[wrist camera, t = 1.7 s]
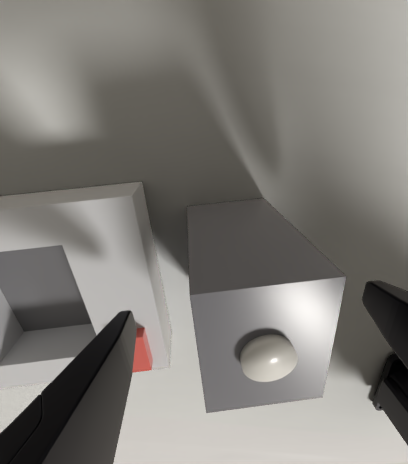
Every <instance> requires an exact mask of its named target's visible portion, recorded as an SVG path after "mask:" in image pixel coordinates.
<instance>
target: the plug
mask: <svg viewBox="0 0 408 464" xmlns="http://www.w3.org/2000/svg"><path fill="white" fill-rule="evenodd" d="M187 224H188V256H189V287H190V301H191V308H192V315H193V322H194V329H195V336H196V343H197V350H198V357H199V364H200V371H201V378H202V385H203V392H204V399H205V407H206V413H210V412H218V411H225V410H233V409H240V408H247V407H255V406H262V405H270V404H277V403H284V402H292V401H299V400H307V399H314V398H321V397H323V393H324V388H325V383H326V378H327V373H328V368H329V363H330V358H331V353H332V348H333V342H334V337H335V332H336V327H337V322H338V317H339V312H340V307H341V302H342V297H343V292H344V287H345V281H346V276H345V275H344V274H343V273H342V272H341V271H340V270H339V269H338V268H337V267H336V266H335V265H334V264H333V263H332V262H331V261H330V260H329V259H327V258H326V257H325V256H324V255H323V254H322V253H321V252H320V251H319V250H318V249H317V248H316V247H315V246H314V245H313V244H312V243H311V242H310V241H309V240H307V239H306V238H305V237H304V236H303V235H302V234H301V233H300V232H299V231H298V230H297V229H296V228H295V227H294V226H293V225H292V224H291V223H290V222H288V221H287V220H286V219H285V218H284V217H283V216H282V215H281V214H280V213H279V212H278V211H277V210H276V209H275V208H274V207H273V206H272V205H271V204H270V203H268V202H267V201H266V200H265V199H264V198H259V199H250V200H241V201H231V202H222V203H213V204H203V205H194V206H187Z"/></svg>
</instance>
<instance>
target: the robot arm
mask: <svg viewBox="0 0 408 464" xmlns="http://www.w3.org/2000/svg"><path fill="white" fill-rule="evenodd" d="M362 301H363V304H364V306H365V307H366V309H367V311H368V312H369V314H370V315H371V317H372V319H373V320H374V322H375V323H376V325H377V327H378V328H379V330H380V331H381V333H382V335H383V336H384V338H385V339H386V341H387V342H388V343H389V345H390V346H391V348H392V349H393V350H394V351H395V353H396V354H393V355H391V356H390V357H389V358H388V359H387V362H386V365H385V368H384V371H383V374H382V377H381V380H380V383H379V386H378V388H377V391H376V394H375V397H374V400H373V405H374V407H375V408H376V410H384V412H385V413H386V415H387V416H388V417H389V419H390V420H391V422H392V423H393V425H394V426H395V428H396V429H397V430H398V432H399V433H400V435H401V436H402V438H403V439H404V441H405V442H406V443H407V445H408V291H406V290H403V289H400V288H398V287H395V286H393V285H390V284H387V283H385V282H382V281H379V280H376V281H369V282H367V283H366V285H365V289H364V293H363V297H362ZM136 333H137V328H136V324H135V320H134V316H133V313H132V311H131V310H126V311H120V312H119V313H118V314H117V315H116V316H115V317H114V318H113V319H112V320H111V321H110V322H109V323H108V324H107V325H106V326H105V327H104V328H103V329H102V330H101V331H100V332H99V333H98V334H97V335H96V336H95V337H94V339H93V340H92V341H91V342H90V343H89V344H88V345H87V346H86V347H85V348H84V349H83V350H82V351H81V352H80V353H79V354H78V355H77V356H76V357H75V358H74V359H73V360H72V361H71V362H70V363H69V364H68V365H67V366H66V367H65V369H64V370H63V371H62V372H61V373H60V374H59V375H58V376H57V377H56V378H55V379H54V380H53V381H52V382H51V383H50V384H49V385H48V386H47V387H46V388H45V389H44V390H43V391H42V393H41V395H38V396H37V397H36V398H35V399H34V400H33V401H32V403H31V404H30V405H29V406H28V407H27V408H26V409H25V410H24V411H23V412H22V413H21V414H20V415H19V416H18V417H17V418H16V419H15V420H14V421H13V422H12V423H11V424H10V425H9V426H8V427H7V428H5V429H4V430H3V431H2V432H1V433H0V464H113V462H114V457H115V452H116V448H117V443H118V438H119V434H120V429H121V424H122V420H123V415H124V410H125V406H126V401H127V396H128V392H129V387H130V382H131V377H132V371H133V362H134V353H135V343H136Z"/></svg>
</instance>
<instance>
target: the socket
mask: <svg viewBox="0 0 408 464" xmlns="http://www.w3.org/2000/svg"><path fill="white" fill-rule="evenodd" d="M126 310H131V311H132V313H133V316H134V320H135V324H136V328H137V333H136V343H135V353H134V362H133V371H132V372H140V371H148V370H155V369H163V368H170V354H171V337H172V331H171V326H170V321H169V316H168V311H167V305H166V300H165V295H164V290H163V285H162V280H161V275H160V270H159V265H158V260H157V255H156V250H155V245H154V240H153V234H152V229H151V224H150V219H149V214H148V209H147V204H146V199H145V194H144V189H143V184H142V182H133V183H123V184H113V185H104V186H94V187H84V188H75V189H65V190H55V191H46V192H36V193H26V194H17V195H7V196H0V389H7V388H14V387H22V386H30V385H38V384H46V383H51V382H52V381H53V380H54V379H55V378H56V377H57V376H58V375H59V374H60V373H61V372H62V371H63V370H64V369H65V367H66V366H67V365H68V364H69V363H70V362H71V361H72V360H73V359H74V358H75V357H76V356H77V355H78V354H79V353H80V352H81V351H82V350H83V349H84V348H85V347H86V346H87V345H88V344H89V343H90V342H91V341H92V340H93V339H94V337H95V336H96V335H97V334H98V333H99V332H100V331H101V330H102V329H103V328H104V327H105V326H106V325H107V324H108V323H109V322H110V321H111V320H112V319H113V318H114V317H115V316H116V315H117V314H118V313H119V312H120V311H126Z"/></svg>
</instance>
